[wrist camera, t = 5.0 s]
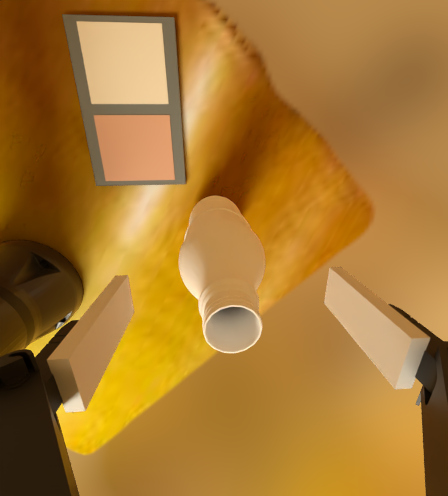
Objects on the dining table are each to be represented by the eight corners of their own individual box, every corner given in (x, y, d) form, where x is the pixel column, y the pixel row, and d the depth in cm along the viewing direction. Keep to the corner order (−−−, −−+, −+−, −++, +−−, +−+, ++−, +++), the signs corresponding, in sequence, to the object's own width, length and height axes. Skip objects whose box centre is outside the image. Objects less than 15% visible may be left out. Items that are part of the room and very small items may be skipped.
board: (98, 185, 32) (95, 185, 31) (66, 18, 26) (61, 13, 25) (185, 183, 33) (185, 184, 32) (175, 21, 27) (174, 16, 26)
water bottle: (239, 238, 36) (300, 376, 13) (193, 241, 36) (170, 390, 13) (237, 191, 34) (309, 257, 10) (188, 194, 33) (147, 271, 10)
